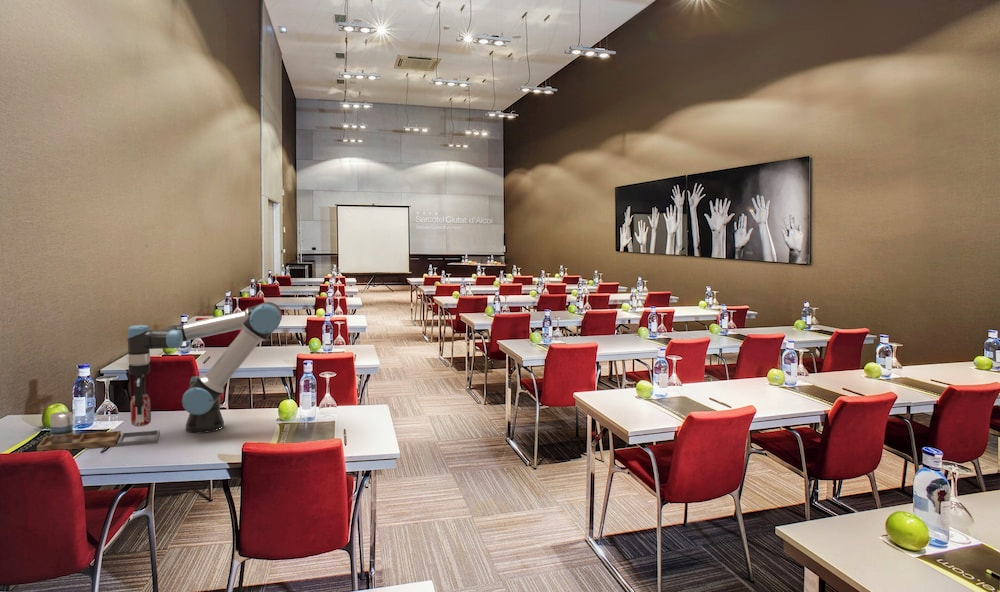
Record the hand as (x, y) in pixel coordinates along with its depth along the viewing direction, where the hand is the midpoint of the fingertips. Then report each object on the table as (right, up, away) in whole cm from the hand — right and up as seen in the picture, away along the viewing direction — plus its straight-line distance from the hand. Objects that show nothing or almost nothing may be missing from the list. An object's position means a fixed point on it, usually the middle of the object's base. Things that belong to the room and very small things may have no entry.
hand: (141, 419), depth 250 cm
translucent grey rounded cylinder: (-25, -8, -11) cm, 28 cm away
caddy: (-19, -8, -8) cm, 22 cm away
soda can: (0, -2, 0) cm, 2 cm away
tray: (-1, -8, 0) cm, 8 cm away
